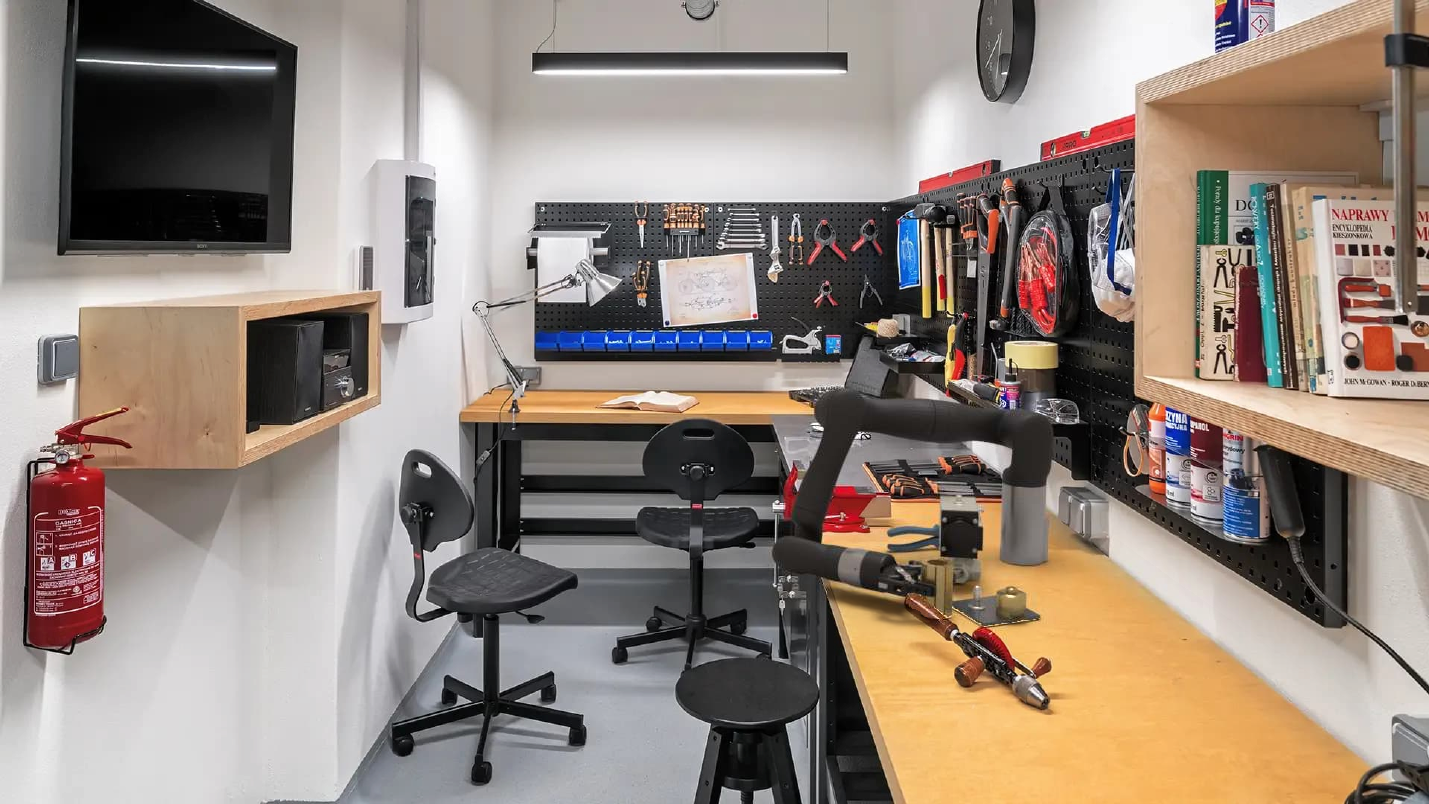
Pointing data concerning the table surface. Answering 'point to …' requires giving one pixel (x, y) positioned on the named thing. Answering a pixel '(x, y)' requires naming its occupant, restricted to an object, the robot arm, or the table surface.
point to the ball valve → (961, 535)
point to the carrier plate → (986, 609)
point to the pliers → (917, 544)
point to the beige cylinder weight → (1011, 603)
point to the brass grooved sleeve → (939, 583)
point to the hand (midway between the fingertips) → (945, 585)
